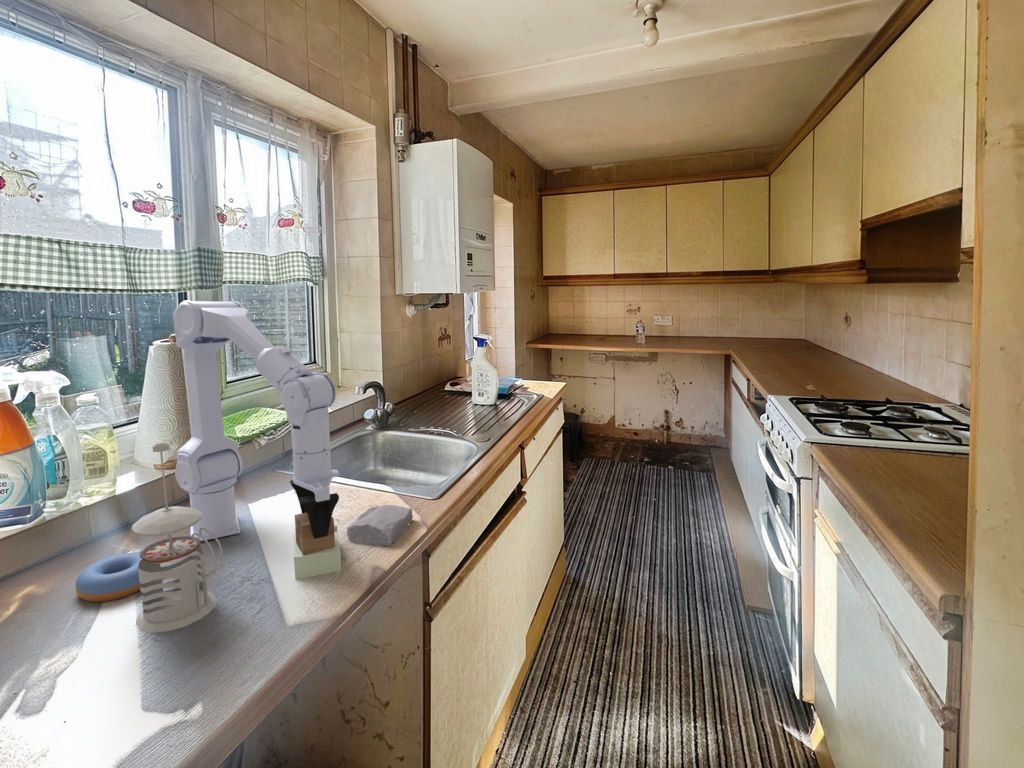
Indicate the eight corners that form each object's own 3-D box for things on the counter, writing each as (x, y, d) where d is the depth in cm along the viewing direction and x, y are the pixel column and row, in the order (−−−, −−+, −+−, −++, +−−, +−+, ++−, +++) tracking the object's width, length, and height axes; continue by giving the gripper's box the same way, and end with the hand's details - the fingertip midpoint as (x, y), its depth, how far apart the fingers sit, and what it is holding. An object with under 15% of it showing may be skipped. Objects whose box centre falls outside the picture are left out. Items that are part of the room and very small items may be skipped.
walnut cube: (296, 542, 84) (294, 514, 83) (326, 535, 87) (325, 508, 86) (303, 555, 80) (301, 526, 79) (334, 547, 83) (333, 518, 82)
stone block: (344, 553, 92) (394, 548, 91) (338, 528, 92) (388, 522, 90) (372, 527, 104) (417, 522, 102) (368, 505, 104) (412, 499, 102)
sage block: (295, 559, 86) (294, 538, 86) (338, 552, 89) (337, 531, 88) (295, 580, 80) (294, 557, 79) (341, 572, 83) (340, 550, 82)
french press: (168, 589, 77) (151, 431, 72) (242, 592, 76) (230, 433, 72) (116, 631, 67) (93, 451, 63) (201, 634, 67) (184, 454, 62)
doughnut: (140, 600, 74) (136, 570, 73) (60, 612, 71) (56, 581, 71) (169, 571, 83) (166, 544, 83) (100, 581, 81) (97, 553, 81)
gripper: (348, 457, 77) (351, 539, 79) (326, 435, 89) (330, 507, 91) (299, 464, 73) (304, 550, 76) (284, 440, 85) (288, 515, 88)
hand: (315, 527), depth 83 cm, fingers open, 7 cm apart
